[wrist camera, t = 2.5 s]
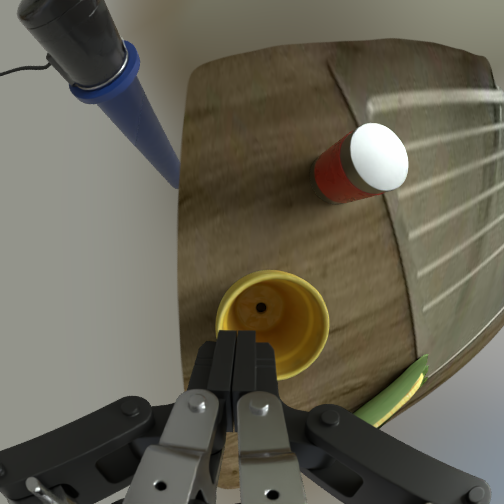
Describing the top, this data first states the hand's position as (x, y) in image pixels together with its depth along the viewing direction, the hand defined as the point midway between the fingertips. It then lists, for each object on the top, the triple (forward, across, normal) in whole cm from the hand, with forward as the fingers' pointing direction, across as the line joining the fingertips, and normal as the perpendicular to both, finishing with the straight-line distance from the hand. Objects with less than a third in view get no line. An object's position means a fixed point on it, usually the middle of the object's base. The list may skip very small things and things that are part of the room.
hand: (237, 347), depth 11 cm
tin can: (+25, -11, -6) cm, 28 cm away
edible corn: (+19, -22, +26) cm, 39 cm away
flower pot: (+21, -1, +9) cm, 22 cm away
